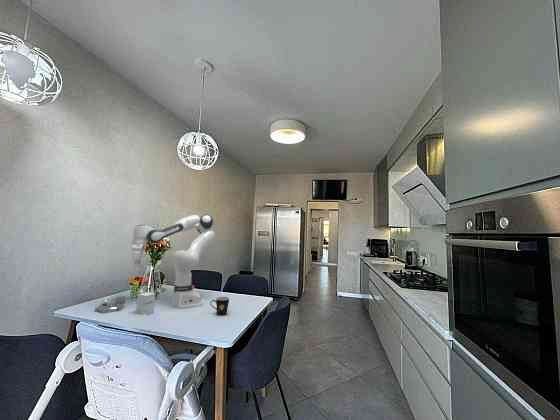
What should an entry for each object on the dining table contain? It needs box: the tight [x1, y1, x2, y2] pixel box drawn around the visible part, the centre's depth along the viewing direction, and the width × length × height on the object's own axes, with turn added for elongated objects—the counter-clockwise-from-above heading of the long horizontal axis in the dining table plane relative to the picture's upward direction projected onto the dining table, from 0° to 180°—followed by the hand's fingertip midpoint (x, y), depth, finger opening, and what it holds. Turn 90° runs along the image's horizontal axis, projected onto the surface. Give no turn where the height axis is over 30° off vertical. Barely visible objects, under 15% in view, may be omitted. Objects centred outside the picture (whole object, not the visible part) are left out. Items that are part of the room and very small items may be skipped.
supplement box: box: [135, 291, 156, 316], centre depth 152 cm, size 7×7×13 cm
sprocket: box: [94, 299, 127, 314], centre depth 154 cm, size 15×17×5 cm
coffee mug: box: [209, 296, 230, 316], centre depth 159 cm, size 12×9×10 cm
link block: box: [114, 295, 127, 305], centre depth 158 cm, size 5×4×5 cm
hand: (137, 265), depth 172 cm, fingers open, 8 cm apart
